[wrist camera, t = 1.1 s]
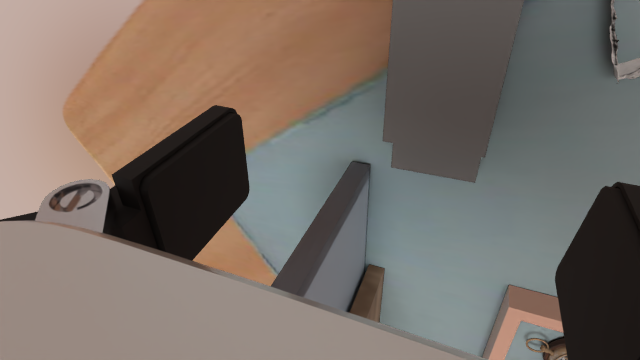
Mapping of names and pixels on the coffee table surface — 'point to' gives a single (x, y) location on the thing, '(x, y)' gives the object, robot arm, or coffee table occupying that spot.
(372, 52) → the coffee table surface
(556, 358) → the compass
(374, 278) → the door wall
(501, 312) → the square frame
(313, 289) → the sliding door
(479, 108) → the grey stepped block
